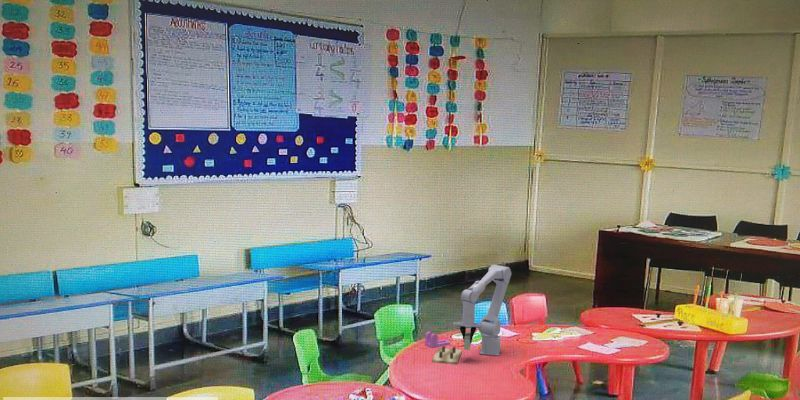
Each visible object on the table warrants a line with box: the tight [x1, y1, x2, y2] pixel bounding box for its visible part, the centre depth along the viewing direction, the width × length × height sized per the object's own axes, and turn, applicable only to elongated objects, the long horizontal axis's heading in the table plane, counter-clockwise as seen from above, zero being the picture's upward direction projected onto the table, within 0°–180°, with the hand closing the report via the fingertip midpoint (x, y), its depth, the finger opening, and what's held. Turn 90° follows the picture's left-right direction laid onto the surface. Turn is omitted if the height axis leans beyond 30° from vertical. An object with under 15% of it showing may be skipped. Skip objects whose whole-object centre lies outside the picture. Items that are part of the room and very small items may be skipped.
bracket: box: [424, 331, 451, 349], centre depth 378 cm, size 13×6×7 cm, turn 123°
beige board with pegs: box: [431, 345, 463, 365], centre depth 358 cm, size 12×20×4 cm, turn 168°
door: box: [463, 331, 472, 351], centre depth 353 cm, size 2×10×6 cm, turn 169°
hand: (467, 342), depth 354 cm, fingers closed on door, 2 cm apart
